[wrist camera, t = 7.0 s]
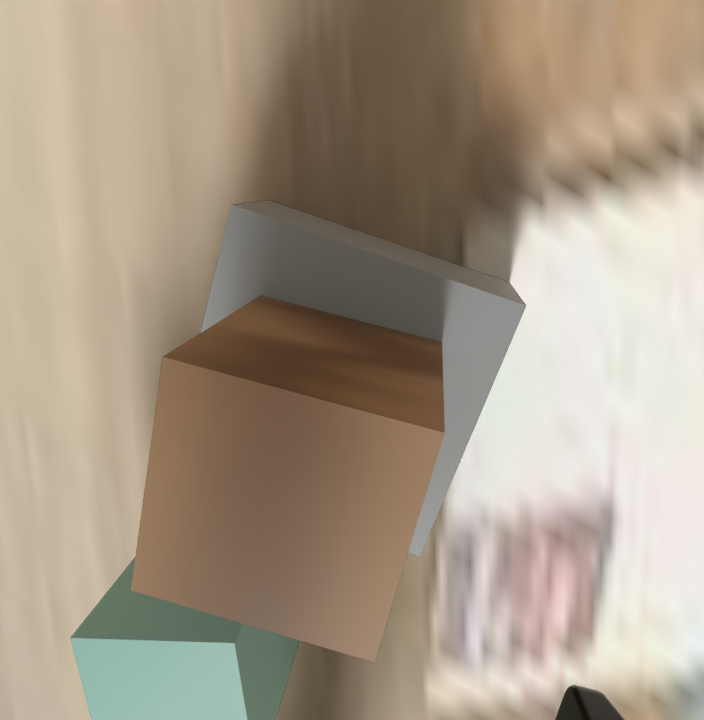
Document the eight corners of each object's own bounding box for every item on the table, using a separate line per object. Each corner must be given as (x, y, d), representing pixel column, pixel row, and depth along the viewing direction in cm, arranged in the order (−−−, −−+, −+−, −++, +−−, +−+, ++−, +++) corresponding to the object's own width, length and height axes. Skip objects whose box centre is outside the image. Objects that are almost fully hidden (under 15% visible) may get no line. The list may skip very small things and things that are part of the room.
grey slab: (508, 281, 19) (526, 305, 15) (422, 490, 21) (419, 556, 18) (272, 200, 19) (231, 204, 15) (214, 416, 22) (167, 465, 18)
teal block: (286, 525, 22) (234, 643, 17) (300, 635, 24) (257, 780, 18) (160, 525, 23) (70, 637, 17) (181, 632, 24) (104, 769, 19)
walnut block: (442, 342, 16) (445, 432, 10) (395, 504, 17) (374, 661, 12) (260, 295, 16) (162, 357, 10) (230, 457, 18) (130, 590, 12)
